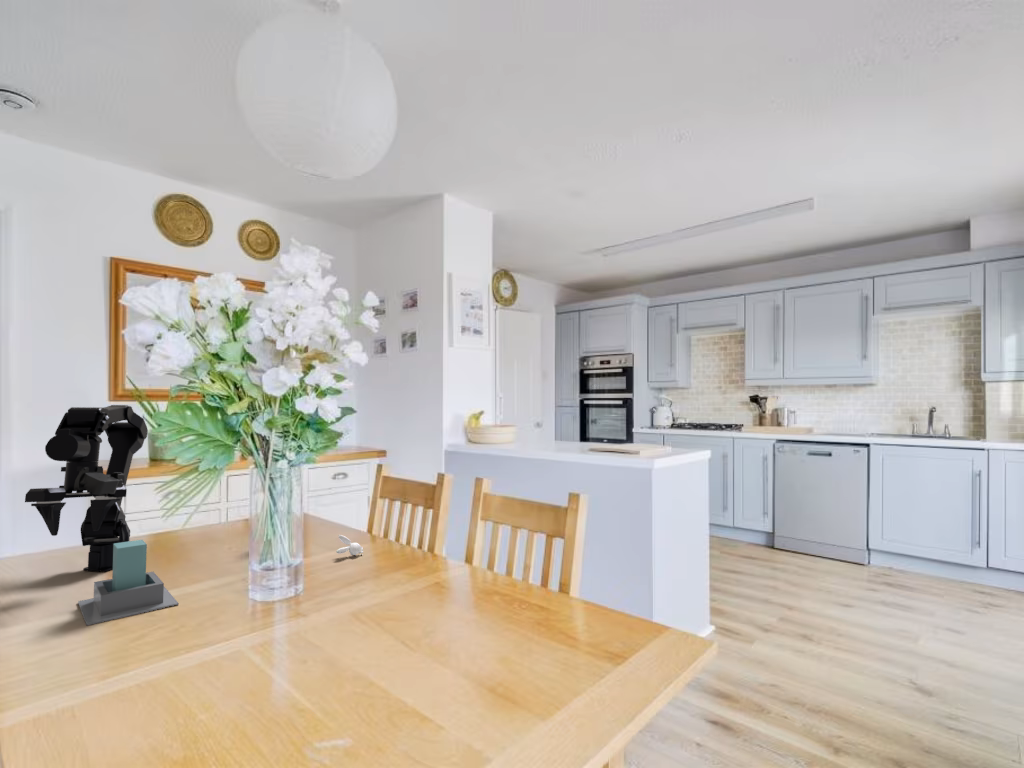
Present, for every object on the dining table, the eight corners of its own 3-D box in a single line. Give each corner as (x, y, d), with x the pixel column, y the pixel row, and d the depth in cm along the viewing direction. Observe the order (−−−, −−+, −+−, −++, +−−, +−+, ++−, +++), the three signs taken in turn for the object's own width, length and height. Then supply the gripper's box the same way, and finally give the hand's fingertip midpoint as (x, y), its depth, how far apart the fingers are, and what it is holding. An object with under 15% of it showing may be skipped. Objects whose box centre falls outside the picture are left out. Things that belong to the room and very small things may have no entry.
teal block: (111, 601, 111) (113, 543, 112) (140, 595, 115) (142, 539, 115) (115, 608, 108) (117, 548, 108) (144, 602, 111) (146, 544, 112)
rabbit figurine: (365, 558, 145) (338, 547, 142) (357, 566, 147) (330, 557, 143) (367, 541, 150) (341, 531, 147) (359, 550, 152) (334, 540, 148)
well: (78, 603, 111) (78, 581, 112) (162, 586, 122) (163, 566, 122) (86, 625, 101) (87, 601, 101) (178, 605, 111) (179, 583, 111)
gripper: (69, 460, 111) (61, 538, 109) (147, 461, 129) (142, 528, 127) (27, 462, 113) (18, 538, 111) (110, 462, 131) (104, 528, 129)
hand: (75, 532), depth 119 cm, fingers open, 9 cm apart
